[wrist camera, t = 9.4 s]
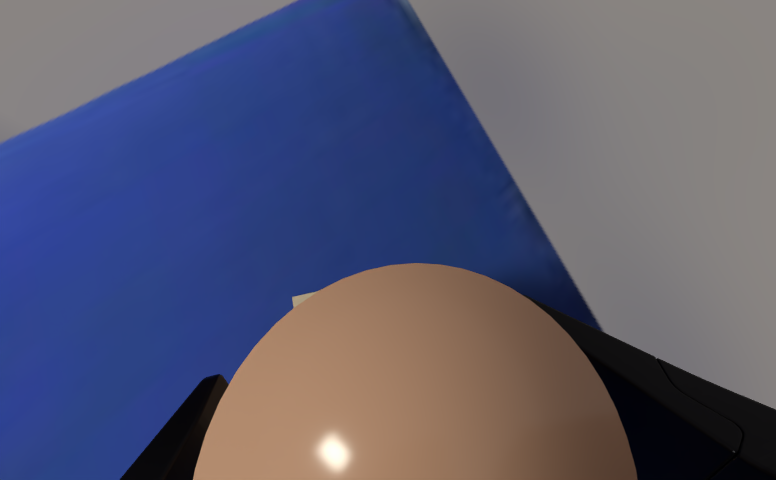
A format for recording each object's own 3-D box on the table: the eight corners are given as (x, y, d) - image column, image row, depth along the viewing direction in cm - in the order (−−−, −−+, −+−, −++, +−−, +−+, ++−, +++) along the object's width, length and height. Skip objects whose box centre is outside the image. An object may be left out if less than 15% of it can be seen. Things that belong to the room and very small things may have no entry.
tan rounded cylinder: (440, 341, 16) (699, 418, 4) (387, 426, 15) (514, 1009, 2) (367, 287, 17) (379, 193, 4) (309, 365, 15) (69, 574, 3)
